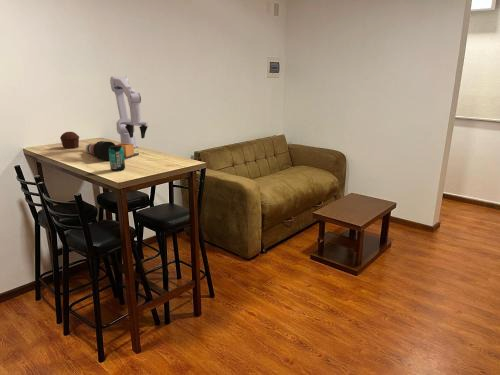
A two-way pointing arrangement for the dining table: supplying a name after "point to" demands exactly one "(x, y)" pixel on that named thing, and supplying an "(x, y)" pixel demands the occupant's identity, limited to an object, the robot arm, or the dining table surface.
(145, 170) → the dining table surface
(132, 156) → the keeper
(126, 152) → the orange hollow block
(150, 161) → the dining table surface
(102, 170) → the dining table surface
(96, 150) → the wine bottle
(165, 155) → the dining table surface
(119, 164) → the beverage can
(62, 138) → the muffin
